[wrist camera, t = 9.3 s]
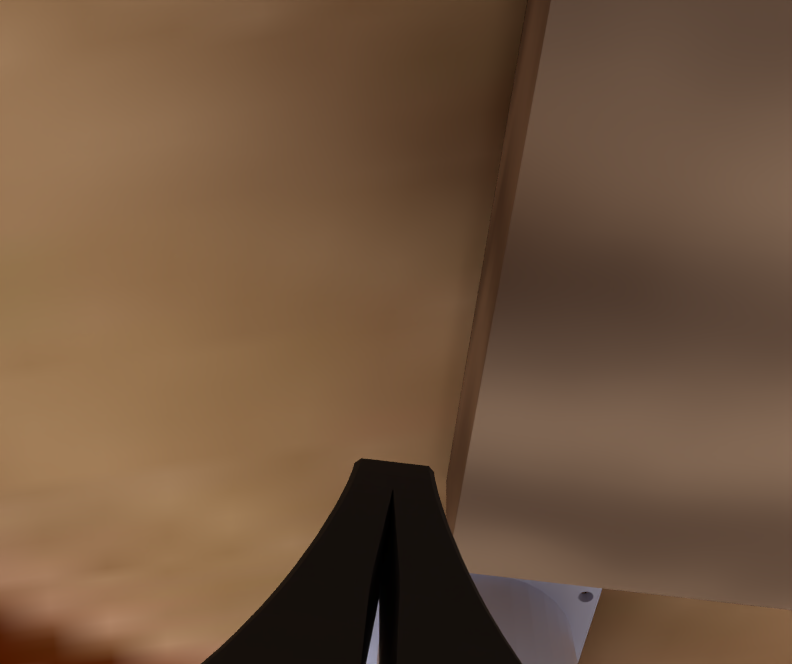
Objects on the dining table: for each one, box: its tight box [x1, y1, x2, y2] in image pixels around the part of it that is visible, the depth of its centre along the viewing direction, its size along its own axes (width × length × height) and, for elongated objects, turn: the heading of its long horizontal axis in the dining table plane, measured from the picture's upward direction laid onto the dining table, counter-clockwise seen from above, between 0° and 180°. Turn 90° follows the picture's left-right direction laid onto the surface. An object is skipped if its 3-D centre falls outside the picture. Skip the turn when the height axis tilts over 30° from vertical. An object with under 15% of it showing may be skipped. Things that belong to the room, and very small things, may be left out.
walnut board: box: [446, 0, 792, 610], centre depth 19 cm, size 18×12×4 cm, turn 174°
